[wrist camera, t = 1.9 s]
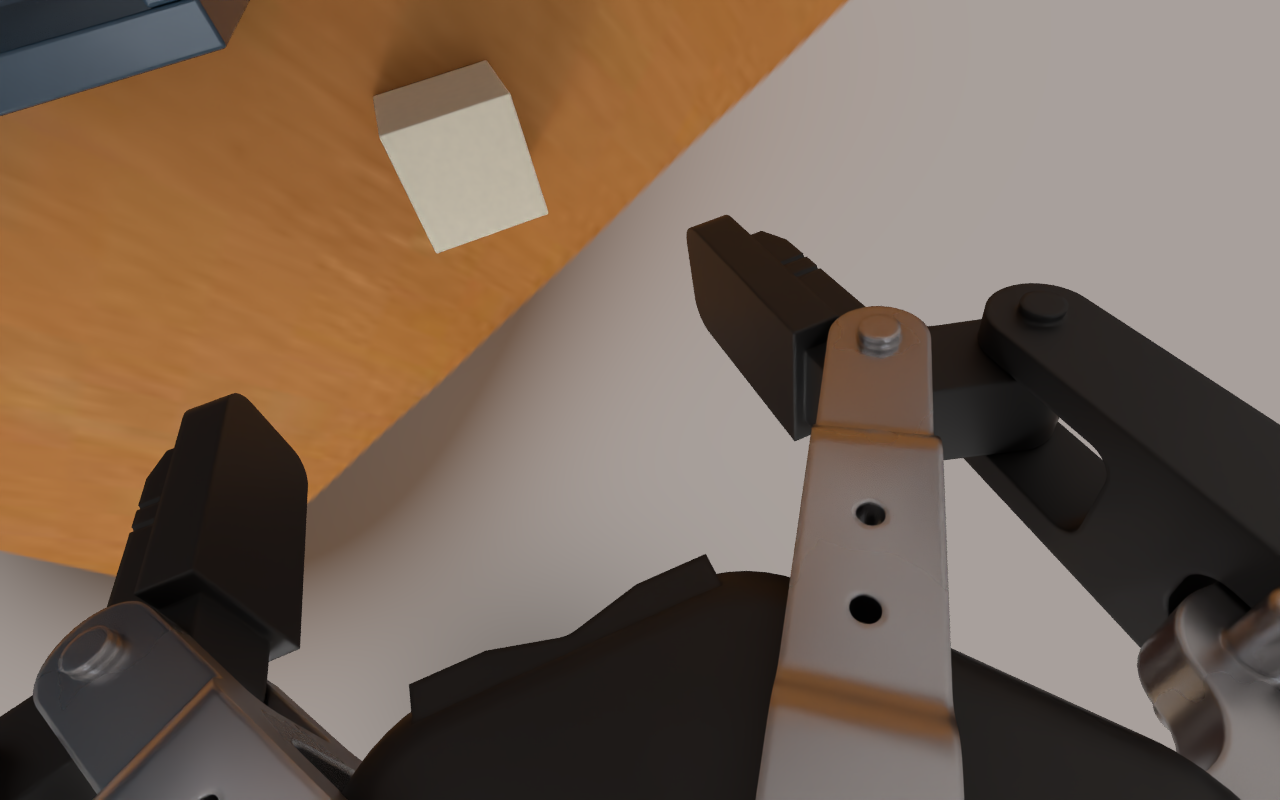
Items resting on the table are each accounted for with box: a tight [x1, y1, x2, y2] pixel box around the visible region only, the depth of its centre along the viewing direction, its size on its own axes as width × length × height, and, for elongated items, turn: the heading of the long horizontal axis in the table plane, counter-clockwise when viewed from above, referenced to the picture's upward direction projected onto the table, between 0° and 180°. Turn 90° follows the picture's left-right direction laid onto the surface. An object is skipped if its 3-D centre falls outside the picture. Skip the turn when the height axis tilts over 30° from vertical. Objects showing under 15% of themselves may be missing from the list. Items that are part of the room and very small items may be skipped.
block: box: [373, 60, 548, 253], centre depth 21 cm, size 4×4×4 cm
